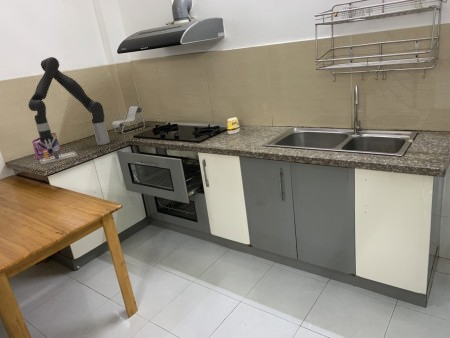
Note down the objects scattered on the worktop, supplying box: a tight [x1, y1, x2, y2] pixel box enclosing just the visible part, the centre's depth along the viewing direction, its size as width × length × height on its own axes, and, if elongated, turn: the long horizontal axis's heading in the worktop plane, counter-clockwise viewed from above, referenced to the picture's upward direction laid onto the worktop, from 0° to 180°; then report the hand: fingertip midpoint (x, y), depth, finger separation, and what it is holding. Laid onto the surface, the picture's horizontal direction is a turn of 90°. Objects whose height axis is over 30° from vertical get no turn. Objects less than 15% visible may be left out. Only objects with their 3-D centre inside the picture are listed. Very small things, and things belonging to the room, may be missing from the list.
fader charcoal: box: [53, 150, 59, 159], centre depth 247 cm, size 2×4×5 cm
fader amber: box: [43, 150, 50, 159], centre depth 250 cm, size 2×4×5 cm
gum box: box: [31, 132, 61, 160], centre depth 265 cm, size 24×8×14 cm, turn 0°
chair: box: [111, 105, 146, 135], centre depth 313 cm, size 13×25×20 cm, turn 135°
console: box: [39, 150, 78, 165], centre depth 252 cm, size 24×12×2 cm, turn 121°
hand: (51, 153), depth 246 cm, fingers closed
